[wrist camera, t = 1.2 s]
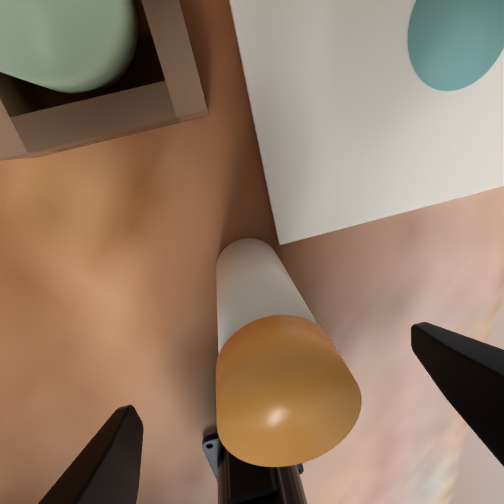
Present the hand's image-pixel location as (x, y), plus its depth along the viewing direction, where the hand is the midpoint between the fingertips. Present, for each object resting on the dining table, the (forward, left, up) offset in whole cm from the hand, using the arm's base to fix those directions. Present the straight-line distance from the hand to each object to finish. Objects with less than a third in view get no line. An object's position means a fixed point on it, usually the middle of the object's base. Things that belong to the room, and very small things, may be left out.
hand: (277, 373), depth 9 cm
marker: (0, 0, -8) cm, 8 cm away
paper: (+8, -10, -8) cm, 15 cm away
